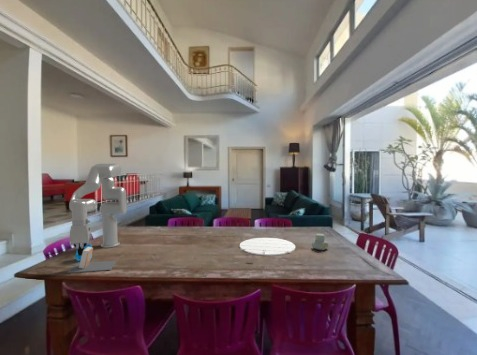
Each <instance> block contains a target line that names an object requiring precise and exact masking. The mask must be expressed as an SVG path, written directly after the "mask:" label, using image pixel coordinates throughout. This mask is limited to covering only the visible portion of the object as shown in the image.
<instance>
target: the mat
mask: <svg viewBox="0 0 477 355" xmlns="http://www.w3.org/2000/svg"><path fill="white" fill-rule="evenodd" d="M116 262H118V260H106V261H90V263H89V265H88V266H87V267H86V268H85V269H83V268H79V265H80V262H77V263H76V264H75V265H74V266H73V267H71V268H70V269H69V270H68V271H67V273H66V274H80V272H81V273H93V271H96V272H107V271H106V270H110V271H111V270H112V269H113V268H114V267H115V265H117V263H116ZM112 267H113V268H112Z"/></svg>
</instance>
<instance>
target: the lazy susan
mask: <svg viewBox="0 0 477 355" xmlns="http://www.w3.org/2000/svg"><path fill="white" fill-rule="evenodd" d="M239 249H240V251H243V252H245V253H248V254H252V255H256V256H265V257H266V256H272V257H275V256H283V255H287V254H291V253H293V252H294V251H295V250H296V245H295V243H294V242H292V241H290V240H285V239H282V238H276V237H254V238H249V239H246V240H243V241H242V242H240V244H239Z"/></svg>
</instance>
